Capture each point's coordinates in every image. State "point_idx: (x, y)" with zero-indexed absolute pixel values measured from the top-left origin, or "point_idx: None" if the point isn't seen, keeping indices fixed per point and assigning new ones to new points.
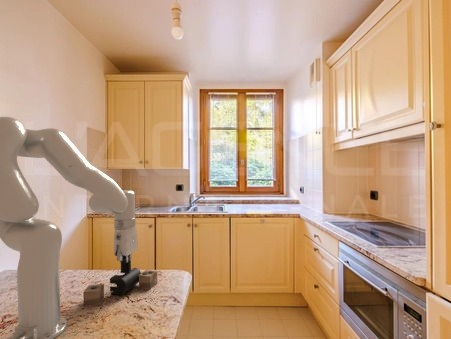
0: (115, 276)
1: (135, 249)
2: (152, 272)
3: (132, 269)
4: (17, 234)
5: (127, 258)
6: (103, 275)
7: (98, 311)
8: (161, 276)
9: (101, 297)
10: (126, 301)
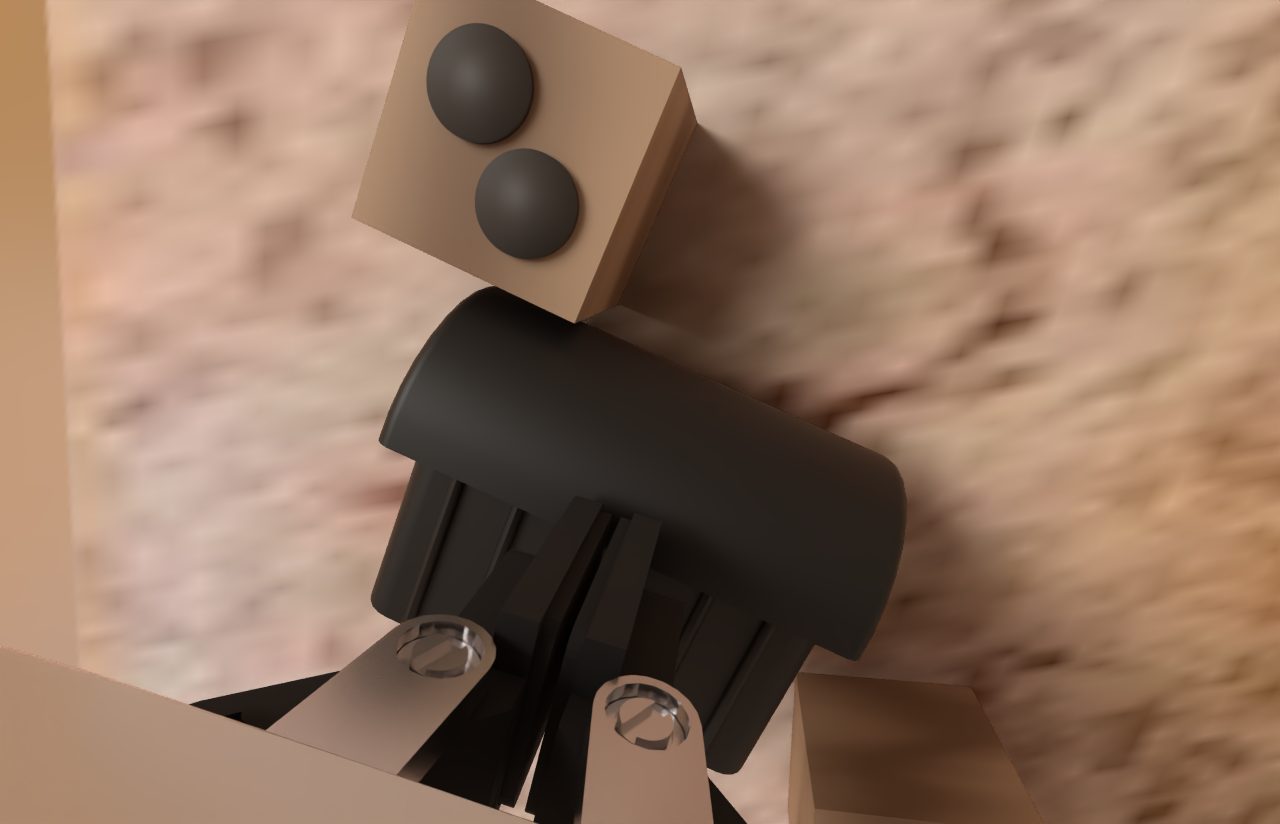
0: None
1: (49, 697)
2: (511, 46)
3: (474, 472)
4: None
5: (642, 784)
6: None
7: (1130, 671)
8: (284, 13)
9: (912, 716)
10: (982, 403)
